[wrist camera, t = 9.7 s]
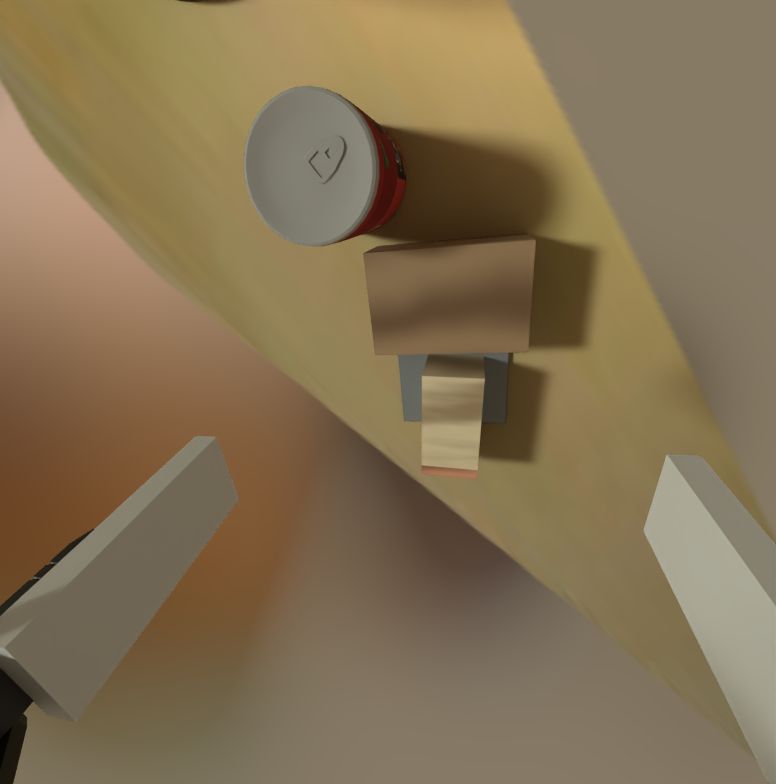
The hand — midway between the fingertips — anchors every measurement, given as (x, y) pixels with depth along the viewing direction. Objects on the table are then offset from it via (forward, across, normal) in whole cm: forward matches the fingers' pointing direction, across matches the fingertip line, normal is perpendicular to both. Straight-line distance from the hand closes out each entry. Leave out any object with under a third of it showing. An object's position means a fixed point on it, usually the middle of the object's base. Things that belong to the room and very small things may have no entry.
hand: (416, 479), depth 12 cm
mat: (+24, 0, -9) cm, 26 cm away
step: (+25, 0, 0) cm, 25 cm away
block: (+22, 0, -6) cm, 22 cm away
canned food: (+25, -7, +9) cm, 28 cm away
